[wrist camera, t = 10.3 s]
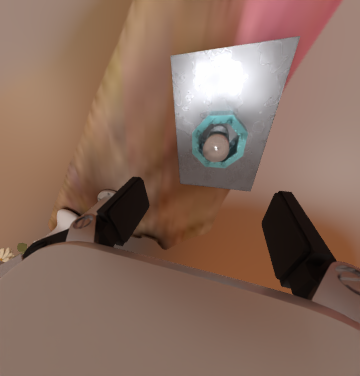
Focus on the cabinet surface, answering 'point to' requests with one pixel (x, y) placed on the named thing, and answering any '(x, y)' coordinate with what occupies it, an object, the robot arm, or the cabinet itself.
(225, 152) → the metal plate with knob
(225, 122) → the ring
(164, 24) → the cabinet surface
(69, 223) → the flower in vase
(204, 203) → the cabinet surface
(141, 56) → the cabinet surface
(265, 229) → the robot arm
